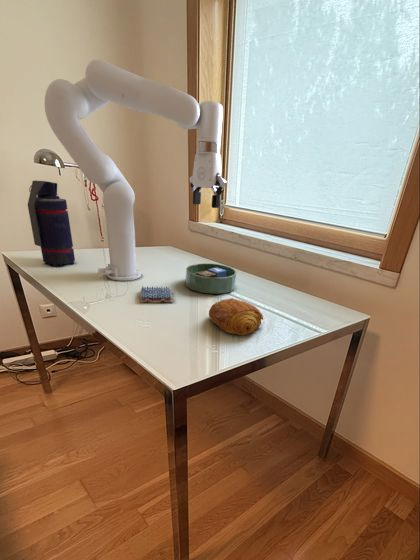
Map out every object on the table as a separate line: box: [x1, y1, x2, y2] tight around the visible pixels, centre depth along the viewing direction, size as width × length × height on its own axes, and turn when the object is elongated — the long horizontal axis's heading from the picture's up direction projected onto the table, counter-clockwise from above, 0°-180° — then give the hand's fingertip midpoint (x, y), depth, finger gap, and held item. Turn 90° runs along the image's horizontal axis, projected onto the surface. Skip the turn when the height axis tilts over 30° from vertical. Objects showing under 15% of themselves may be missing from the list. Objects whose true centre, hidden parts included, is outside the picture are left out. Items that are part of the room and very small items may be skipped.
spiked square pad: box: [139, 285, 174, 303], centre depth 105 cm, size 10×11×2 cm
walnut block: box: [196, 271, 216, 278], centre depth 114 cm, size 5×5×5 cm
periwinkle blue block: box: [208, 267, 226, 278], centre depth 119 cm, size 5×5×5 cm
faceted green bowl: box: [185, 262, 238, 295], centre depth 117 cm, size 18×18×6 cm
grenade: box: [27, 180, 76, 268], centre depth 123 cm, size 14×12×30 cm
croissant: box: [208, 297, 264, 336], centre depth 89 cm, size 14×16×8 cm
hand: (205, 205), depth 113 cm, fingers open, 9 cm apart
